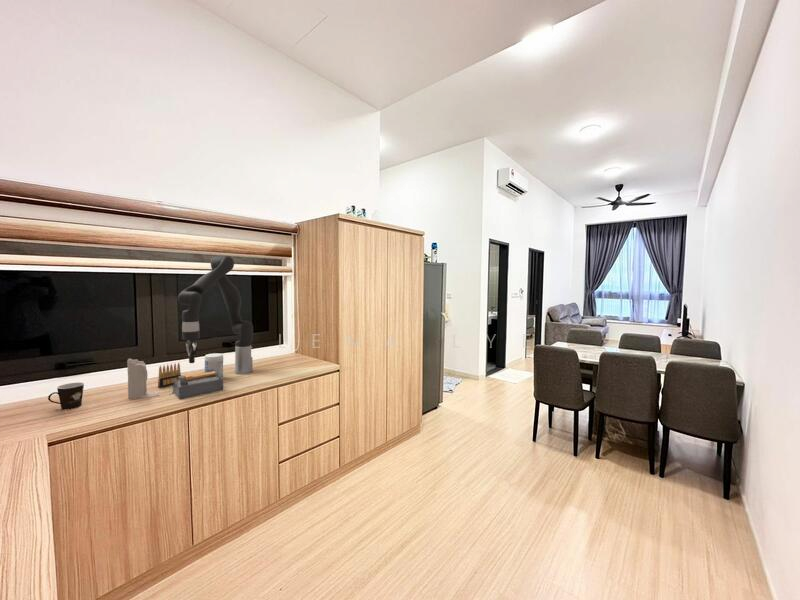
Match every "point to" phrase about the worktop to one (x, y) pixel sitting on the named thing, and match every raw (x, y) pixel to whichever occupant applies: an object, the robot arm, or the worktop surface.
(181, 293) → the robot arm
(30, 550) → the worktop surface
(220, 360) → the supplement tub
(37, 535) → the worktop surface
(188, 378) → the retention lever
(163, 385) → the ammunition clip
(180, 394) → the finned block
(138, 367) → the grey upright block
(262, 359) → the worktop surface
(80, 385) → the coffee mug
